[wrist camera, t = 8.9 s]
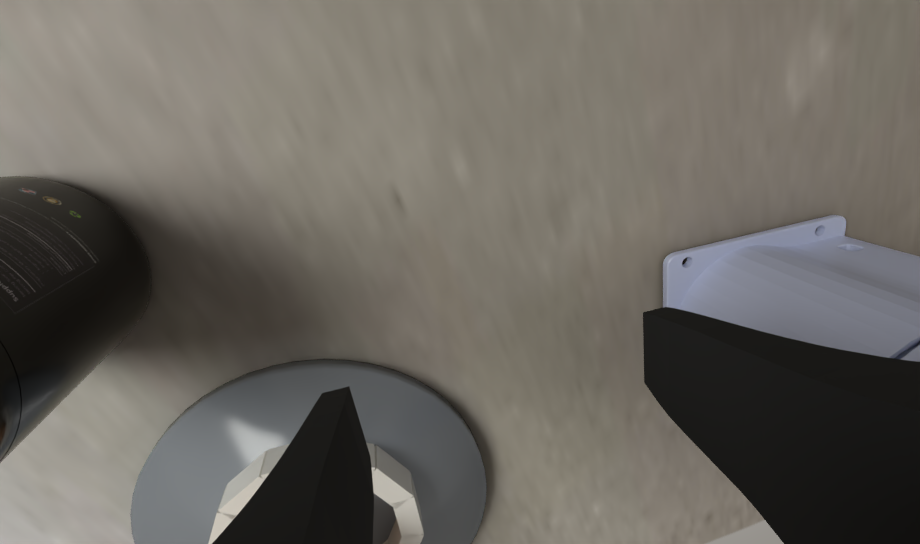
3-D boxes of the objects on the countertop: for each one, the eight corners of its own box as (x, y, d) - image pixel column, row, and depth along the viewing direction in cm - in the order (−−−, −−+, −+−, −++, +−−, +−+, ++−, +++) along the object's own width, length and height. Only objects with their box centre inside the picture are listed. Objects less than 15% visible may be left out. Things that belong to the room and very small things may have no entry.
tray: (455, 322, 21) (465, 346, 19) (501, 566, 27) (513, 606, 24) (72, 414, 19) (35, 453, 17) (213, 656, 25) (199, 708, 23)
